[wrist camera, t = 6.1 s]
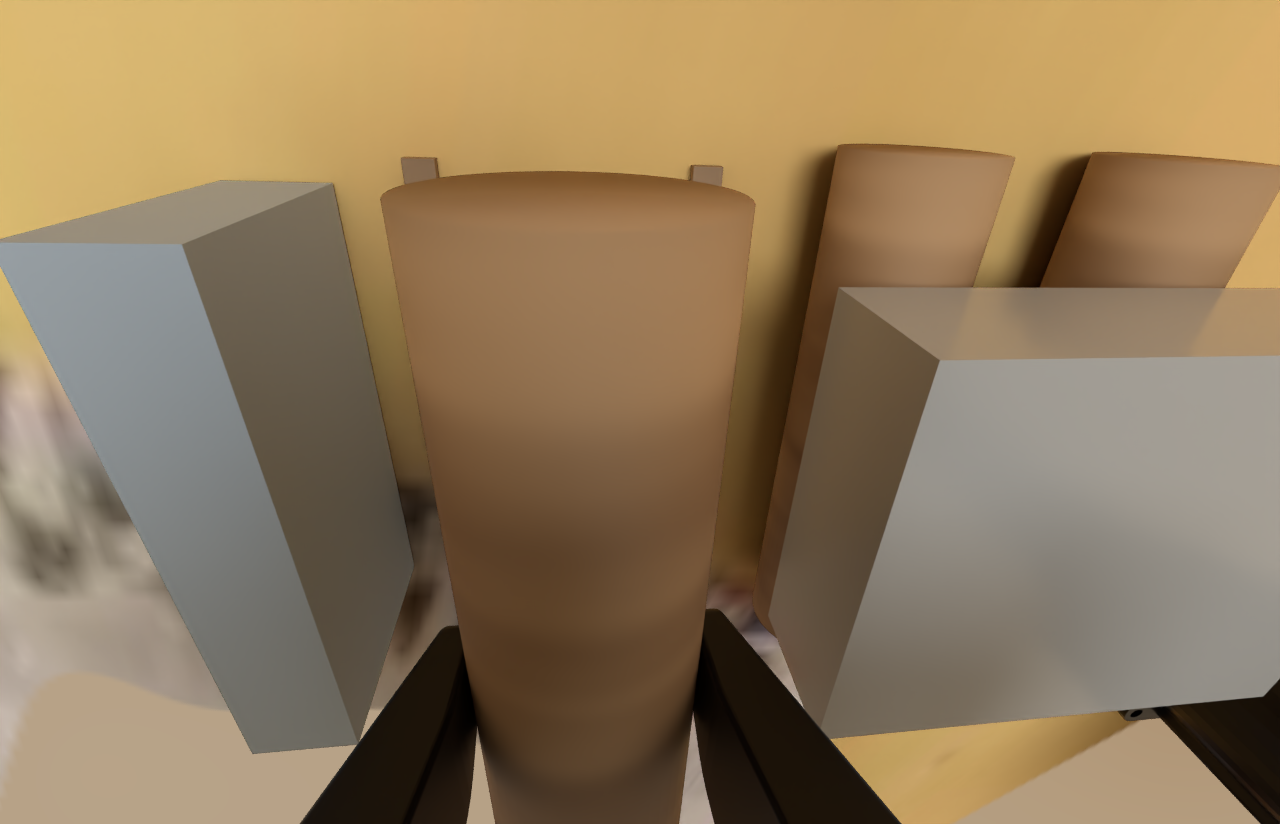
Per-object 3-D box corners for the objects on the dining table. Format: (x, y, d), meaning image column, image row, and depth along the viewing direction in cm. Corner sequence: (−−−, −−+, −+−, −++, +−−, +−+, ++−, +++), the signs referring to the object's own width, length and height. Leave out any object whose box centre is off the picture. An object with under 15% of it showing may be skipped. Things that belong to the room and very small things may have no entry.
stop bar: (414, 565, 16) (358, 744, 12) (338, 570, 16) (252, 753, 11) (332, 183, 11) (182, 244, 7) (220, 180, 11) (-13, 242, 6)
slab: (1140, 589, 15) (1263, 696, 12) (768, 615, 14) (816, 739, 11) (1337, 288, 11) (1581, 351, 8) (838, 287, 10) (939, 360, 7)
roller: (659, 780, 12) (684, 968, 10) (516, 794, 12) (501, 993, 9) (711, 174, 6) (812, 234, 4) (426, 168, 6) (315, 230, 3)
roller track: (994, 557, 18) (1063, 633, 16) (469, 588, 16) (452, 681, 14) (1180, 154, 13) (1340, 171, 10) (399, 127, 11) (346, 140, 8)
